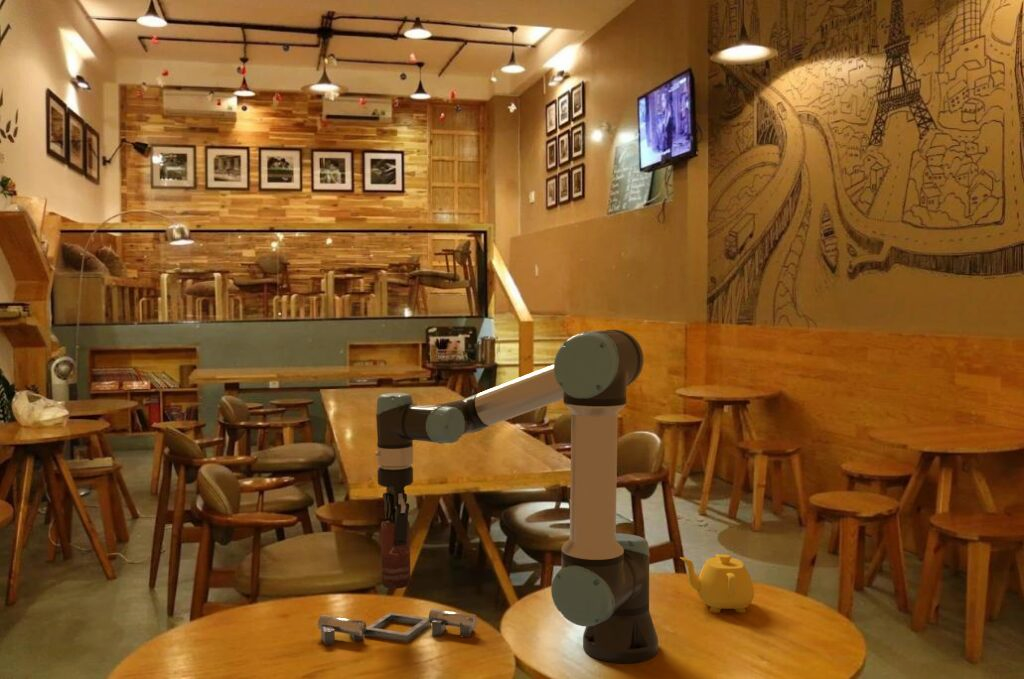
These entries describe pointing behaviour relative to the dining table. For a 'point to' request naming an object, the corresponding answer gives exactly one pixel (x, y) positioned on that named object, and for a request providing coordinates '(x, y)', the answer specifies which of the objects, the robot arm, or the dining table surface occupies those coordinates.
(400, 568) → the can
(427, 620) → the coupling rig
